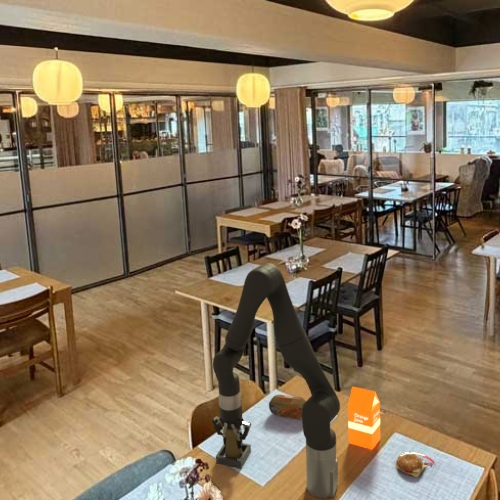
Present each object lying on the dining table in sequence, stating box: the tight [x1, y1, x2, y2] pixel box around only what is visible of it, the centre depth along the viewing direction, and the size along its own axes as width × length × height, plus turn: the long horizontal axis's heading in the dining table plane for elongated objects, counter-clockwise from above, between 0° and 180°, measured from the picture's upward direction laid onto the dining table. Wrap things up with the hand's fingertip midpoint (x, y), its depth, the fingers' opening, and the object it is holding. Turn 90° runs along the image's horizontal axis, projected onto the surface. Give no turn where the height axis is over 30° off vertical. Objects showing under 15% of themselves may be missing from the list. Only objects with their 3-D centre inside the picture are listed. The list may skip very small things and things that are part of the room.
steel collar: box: [215, 442, 252, 470], centre depth 187 cm, size 9×9×3 cm
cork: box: [224, 429, 243, 460], centre depth 186 cm, size 6×6×11 cm
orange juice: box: [347, 386, 381, 451], centre depth 191 cm, size 8×9×20 cm
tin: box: [268, 394, 307, 420], centre depth 208 cm, size 15×3×8 cm, turn 73°
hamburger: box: [395, 451, 436, 478], centre depth 179 cm, size 14×14×6 cm
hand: (233, 446), depth 186 cm, fingers closed on cork, 4 cm apart
